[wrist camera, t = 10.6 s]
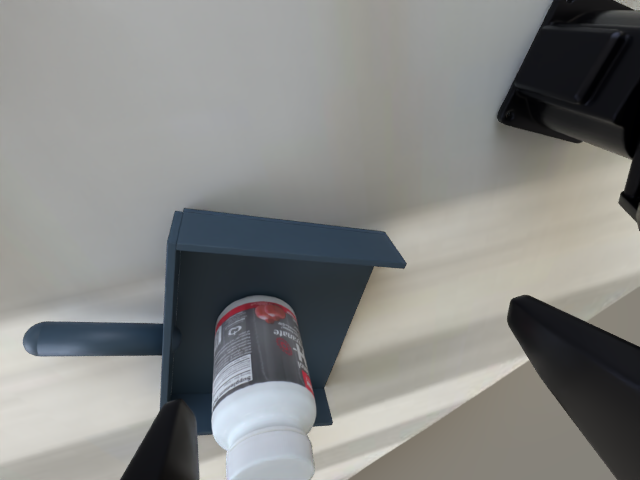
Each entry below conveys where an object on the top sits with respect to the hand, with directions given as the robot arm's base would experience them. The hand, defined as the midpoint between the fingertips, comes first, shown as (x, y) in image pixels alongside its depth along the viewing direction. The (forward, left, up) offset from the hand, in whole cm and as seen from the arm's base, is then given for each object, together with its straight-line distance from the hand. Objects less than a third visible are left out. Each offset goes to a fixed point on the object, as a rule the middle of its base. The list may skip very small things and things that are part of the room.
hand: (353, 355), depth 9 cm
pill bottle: (0, +10, -12) cm, 16 cm away
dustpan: (+3, +11, -12) cm, 16 cm away
